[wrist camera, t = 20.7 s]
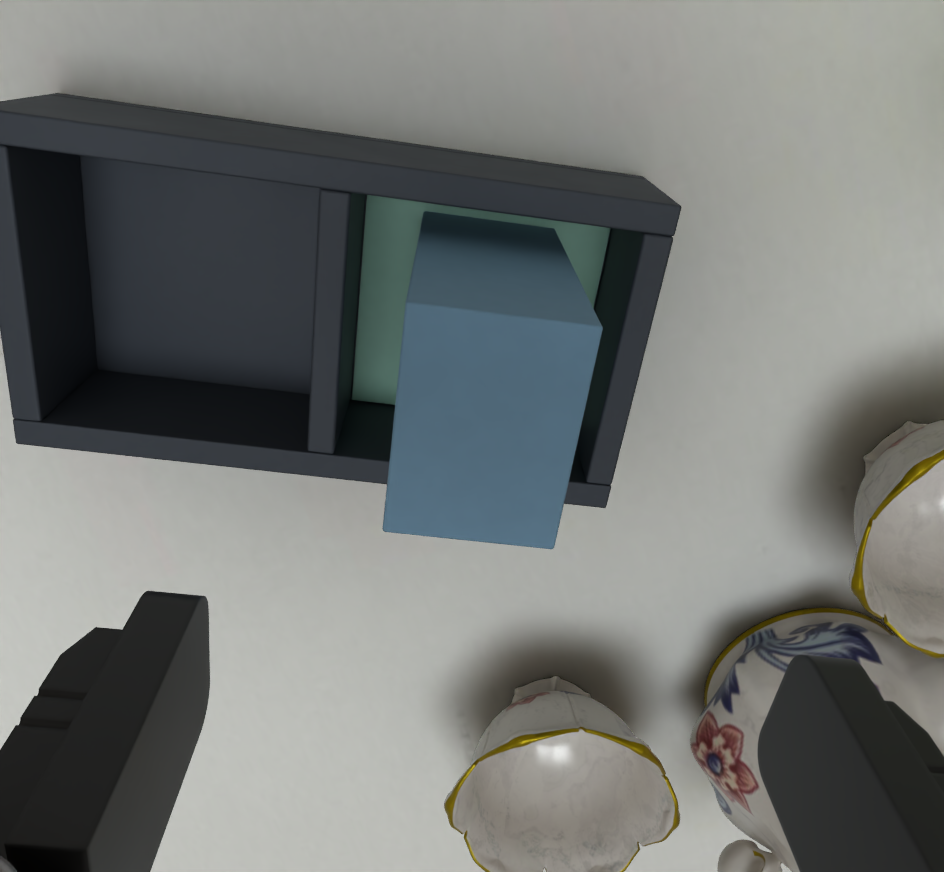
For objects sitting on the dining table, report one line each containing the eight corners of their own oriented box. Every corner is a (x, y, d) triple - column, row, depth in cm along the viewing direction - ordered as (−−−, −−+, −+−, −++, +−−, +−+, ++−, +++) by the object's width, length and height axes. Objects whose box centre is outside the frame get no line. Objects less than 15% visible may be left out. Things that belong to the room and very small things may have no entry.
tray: (584, 439, 28) (605, 508, 24) (83, 381, 27) (15, 444, 23) (644, 176, 24) (682, 205, 20) (55, 92, 23) (-34, 105, 19)
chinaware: (926, 259, 27) (1458, 474, 12) (1193, 551, 30) (1865, 1008, 15) (405, 713, 36) (317, 1162, 21) (657, 895, 40) (738, 1390, 25)
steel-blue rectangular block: (405, 378, 26) (382, 532, 18) (423, 210, 24) (405, 302, 15) (525, 392, 26) (554, 550, 18) (555, 228, 24) (604, 327, 16)
